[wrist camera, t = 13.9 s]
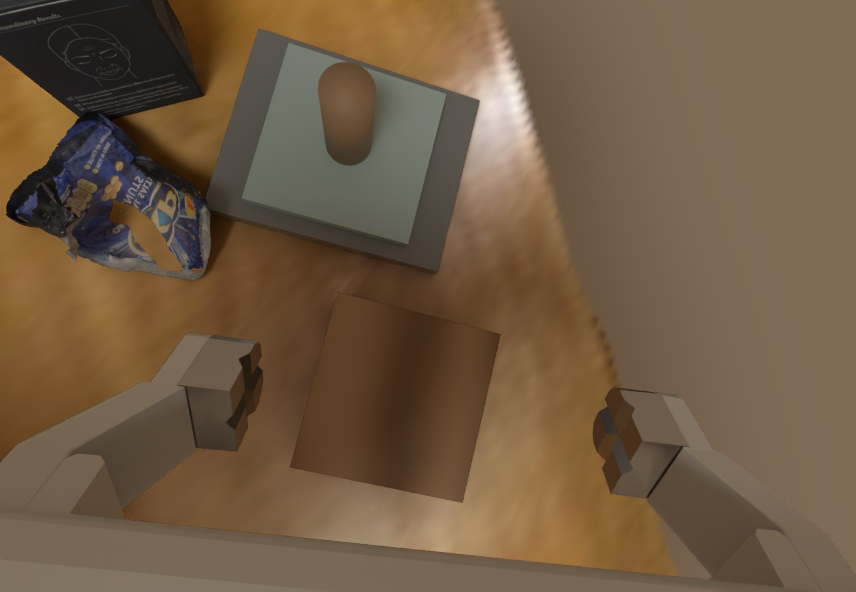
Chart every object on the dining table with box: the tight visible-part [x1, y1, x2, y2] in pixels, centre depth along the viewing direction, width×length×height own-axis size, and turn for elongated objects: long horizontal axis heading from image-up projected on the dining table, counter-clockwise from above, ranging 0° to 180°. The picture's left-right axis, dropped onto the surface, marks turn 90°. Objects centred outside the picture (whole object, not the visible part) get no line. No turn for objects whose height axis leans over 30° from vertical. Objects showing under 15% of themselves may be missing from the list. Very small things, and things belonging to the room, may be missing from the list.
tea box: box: [290, 292, 501, 503], centre depth 30 cm, size 10×10×6 cm
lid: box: [242, 43, 446, 247], centre depth 28 cm, size 11×11×8 cm
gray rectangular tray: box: [206, 29, 480, 274], centre depth 33 cm, size 16×13×2 cm
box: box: [0, 0, 203, 119], centre depth 27 cm, size 8×6×11 cm
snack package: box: [6, 111, 211, 280], centre depth 29 cm, size 12×6×12 cm
